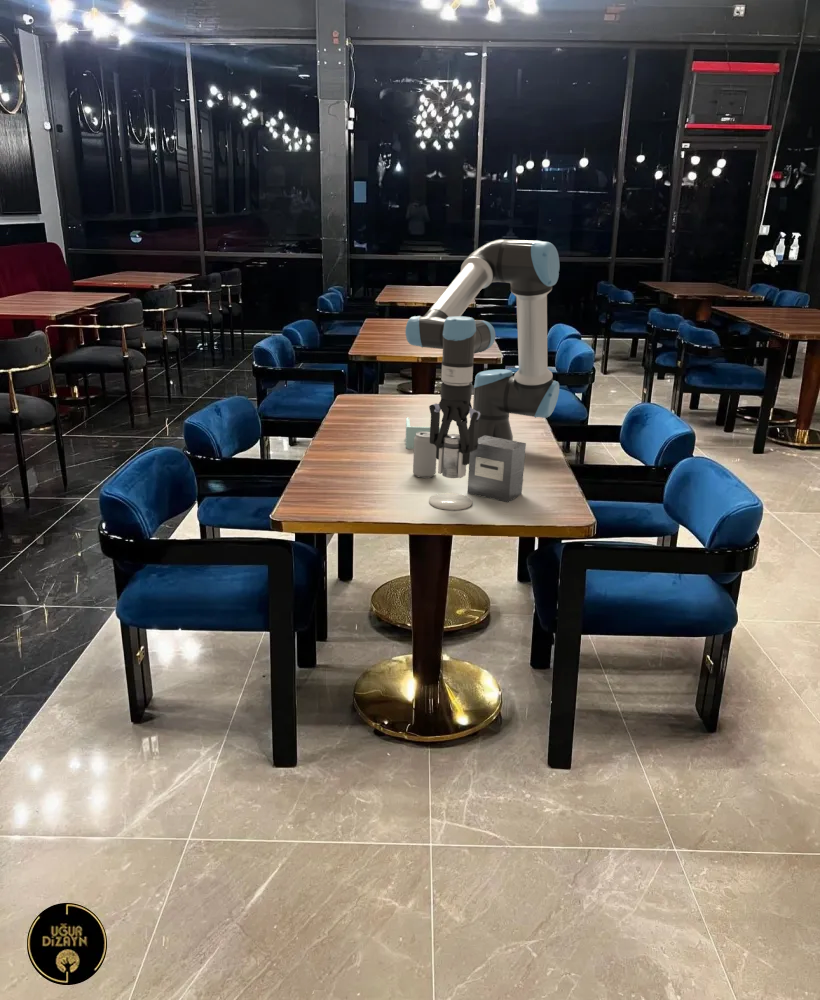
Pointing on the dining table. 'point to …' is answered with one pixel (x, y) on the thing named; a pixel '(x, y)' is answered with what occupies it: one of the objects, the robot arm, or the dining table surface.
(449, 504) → the stone coaster
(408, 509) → the dining table surface
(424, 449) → the beverage can
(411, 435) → the l-shaped corner panel
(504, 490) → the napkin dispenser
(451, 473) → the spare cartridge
